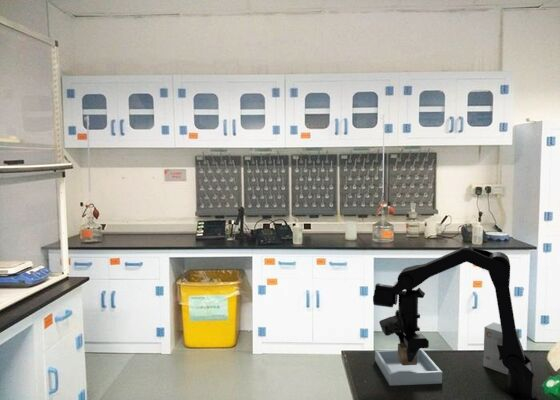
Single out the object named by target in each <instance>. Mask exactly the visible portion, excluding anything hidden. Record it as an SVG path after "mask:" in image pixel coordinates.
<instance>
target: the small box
mask: <svg viewBox="0 0 560 400" xmlns="http://www.w3.org/2000/svg"><path fill="white" fill-rule="evenodd" d="M483 330H484V331H483V336H484V337H483V360H482V362H483V366H482V367H484V368H488V369H490V370H493V371H496V372H499V373H501V374H505V375H506V376H508V370H509V369H508V368H506V367H505V366H504V365H503V363H502V359H501V360H499V350H498V347H497V338H502V329H501V323H497V322H492V323H490V324H488V325H486V326H484V328H483ZM516 332H517V335H518V337H520V335H519V334H520V329H519V328H516Z"/></svg>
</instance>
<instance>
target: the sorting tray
mask: <svg viewBox="0 0 560 400" xmlns="http://www.w3.org/2000/svg"><path fill="white" fill-rule="evenodd" d="M374 357H375V358H374V360H375V363H376V365H377V367H378V368H379V370H380V371H381V374H382V375H383V376H384V378H385V380H386V382H387V384H388V385H389V386H409V385H410V386H413V385H415V386H416V385H434V384H435V385H437V384H442V383H443V371H442V370H441V369H440V368H439V366H438V365H436V363H435V362H434V361H433V360H432V358H431V357H430V356H429V355H428V353H426V352H425V350H424V348H420V349H419V350H418V352H417V365H404V366H402V364H401V363H400V361H399V360H398V349H385V350H384V349H383V350H382V349H381V350H375V352H374Z"/></svg>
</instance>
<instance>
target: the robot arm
mask: <svg viewBox="0 0 560 400" xmlns="http://www.w3.org/2000/svg"><path fill="white" fill-rule="evenodd" d="M464 263H469V264H472V265H474V266H476V267H477V268H479V269H482V270H486V271H487V272H488V275H489V277H490V280H491V283H492V284H493V288H494V289H495V296H496V303H497V309H498V317H499V321H500V323H499V324H501V329H502V338H497V347H498V350H499V360H501V359H502V363H503V365H504V366H505V367H506V368H508V369H509V370H508V375H507V385H503V386H502V389H503V390H504V391H505V392H506V393H507V394H508V395H509V396H510V397H511V398H513V400H537V399H538V396H537V395H536V394H534V392H533V383H534V379H533V378H534V375H535V374H534V368H533V362H532V360H531V359H530V358H529V357H528V356H527V355H526V354H525V351H524V349H523V345H522V342H521V339H520V338H519V337H520V336H519V337H518V335H517V332H516V329H517V328H516V321H515V316H514V315H515V314H514V310H513V305H512V304H513V303H512V297H511V290H510V283H511V282H510V281H511V262H510V257H509V256H508V255H507V254H505V252H502V251H495V252H493V251H492V252H491V251H490V250H489V251H488V250H485V249H481V248H476V247H472V246H470V245H463V246H462V247H460V248H458V249H456V250H454V251H452V252H449V253H447V254H445V255H443V256H440V257H438V258H436V259H433V260H432V261H428V262H427V263H423V264H416V265H411V266H407V267H405V268H403V269H402V270H401V272H400V273H399V274H398V276H397V281H396V282H394V284H393V285H389V284H382V283H376V284H375V285H374V287H375V289H374V292H373V296H372V303H373V304H372V305H374V306H378V307H387V308H393V307H394V305H395V306H396V305H397V303H398V308H397V309H396V310H395V314H394V315H392V316H388V317H385V318H384V319H380V320H379V322H378V323H379V326H380V328H381V331H382V332H383V334H384V335H385V336H390V335H393V334H395V335H396V336H397V337H398V341H399V343H403V344H404V345H405V346H406V350H407V358H408V362H412V361H413V359H414V357H415V356H416V354H417V352H418V350H419V349H428V348H429V346H430V345H429V344H430V341H429V339H428V338H426V337H425V335H424V334H422V333H417V332H421V329H420V328H421V327H420V326H419V325H418V322H419V321H418V320H419V319H421V315H420V313H419V299H423V298H424V297H425V295H426V293H425V292H424V291H423V290H422V289H421V287H418V286H420V285H421V284H423V283H424V282H425V281H427V280H428V279H429V278H432V277H434V276H436V275H438V274H440V273H442V272H445V271H448V270H451V269H452V268H455V267H457V266H459V265H462V264H464ZM417 287H418V288H417ZM415 288H417V289H415Z"/></svg>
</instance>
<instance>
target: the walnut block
mask: <svg viewBox="0 0 560 400" xmlns="http://www.w3.org/2000/svg"><path fill="white" fill-rule="evenodd" d="M397 350H398V360H399V361H400V363H401V364H402V366H404V365H417V354H416V356H415V357H414V359H413V361H412V362H408V358H407V350H406V346H405V345H404V344H403V343H400V342H399V343H397Z"/></svg>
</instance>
